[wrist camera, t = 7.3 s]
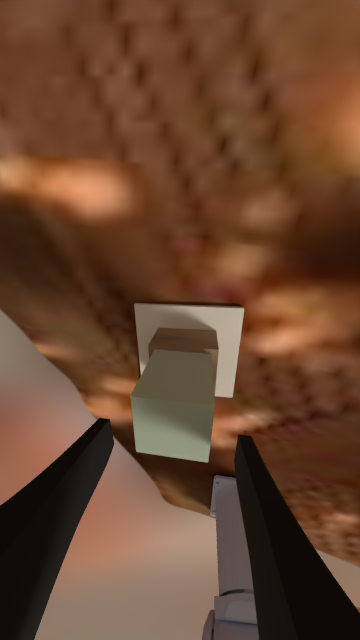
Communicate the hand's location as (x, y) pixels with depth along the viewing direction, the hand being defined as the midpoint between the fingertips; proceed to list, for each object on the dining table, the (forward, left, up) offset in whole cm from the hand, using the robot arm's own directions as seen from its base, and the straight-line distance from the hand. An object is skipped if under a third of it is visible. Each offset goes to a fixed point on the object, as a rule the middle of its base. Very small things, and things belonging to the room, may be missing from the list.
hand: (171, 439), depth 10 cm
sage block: (0, 0, -5) cm, 5 cm away
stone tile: (0, 0, -9) cm, 9 cm away
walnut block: (0, 0, -9) cm, 9 cm away
